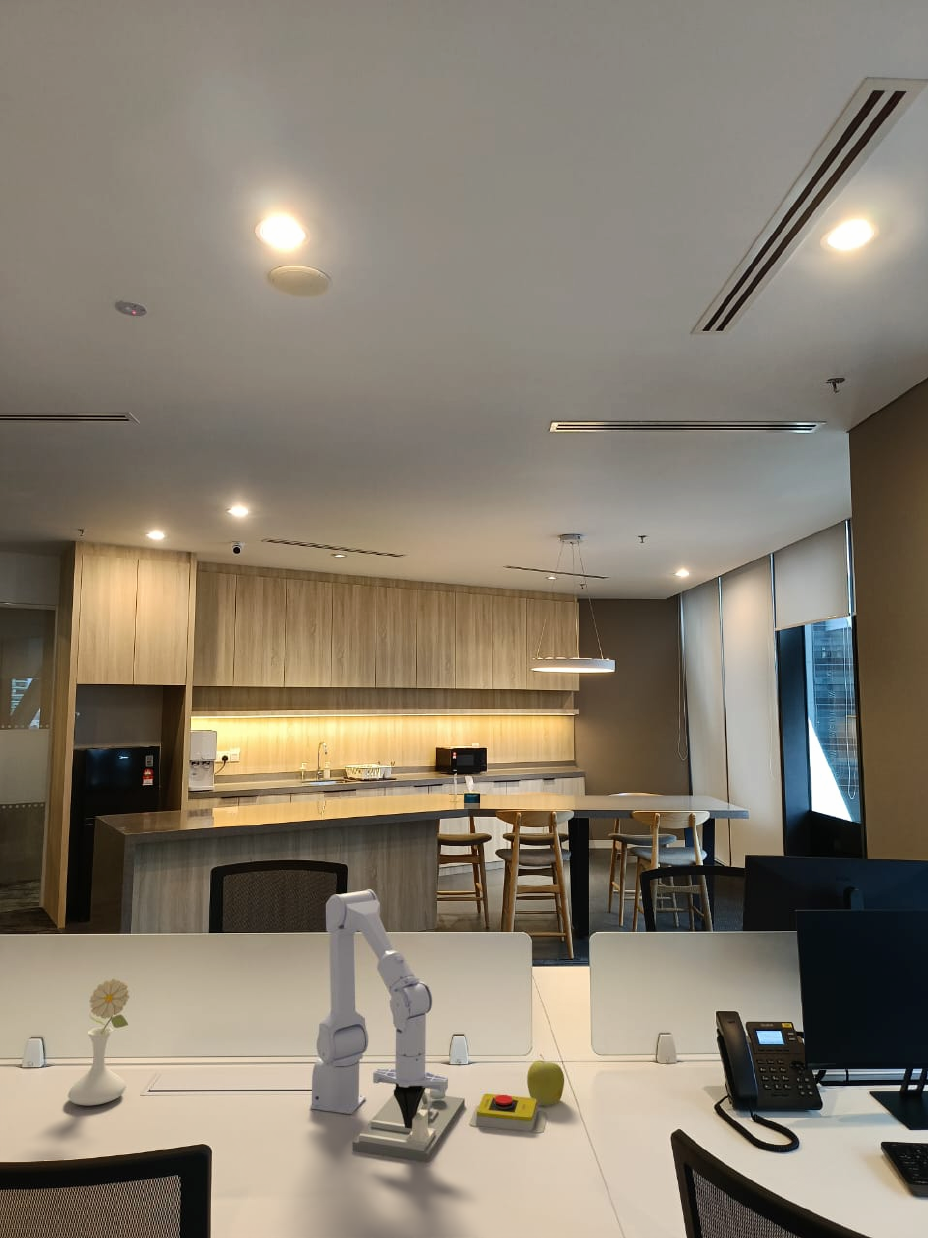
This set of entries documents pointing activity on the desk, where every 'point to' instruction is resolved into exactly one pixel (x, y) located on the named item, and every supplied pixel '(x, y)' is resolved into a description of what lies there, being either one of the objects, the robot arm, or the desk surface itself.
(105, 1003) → the flower in vase
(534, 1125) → the emergency button
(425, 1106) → the toggle lever
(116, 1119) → the desk surface
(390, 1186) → the desk surface
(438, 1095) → the push button
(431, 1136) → the paddle slider
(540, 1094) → the apple
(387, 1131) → the grey base plate
